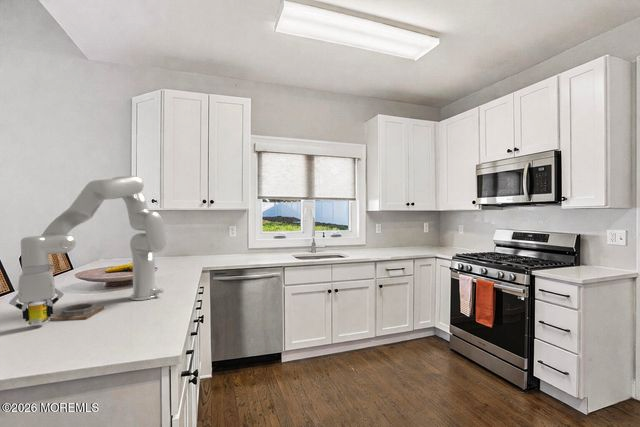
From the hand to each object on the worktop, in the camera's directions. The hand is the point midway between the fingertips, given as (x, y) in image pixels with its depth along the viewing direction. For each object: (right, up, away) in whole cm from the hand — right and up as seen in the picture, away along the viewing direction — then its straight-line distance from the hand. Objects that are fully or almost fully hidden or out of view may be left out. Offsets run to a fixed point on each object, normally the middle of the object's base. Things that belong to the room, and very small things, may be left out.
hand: (38, 317), depth 119 cm
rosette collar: (+5, -3, +13) cm, 14 cm away
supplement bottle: (0, -2, 0) cm, 2 cm away
